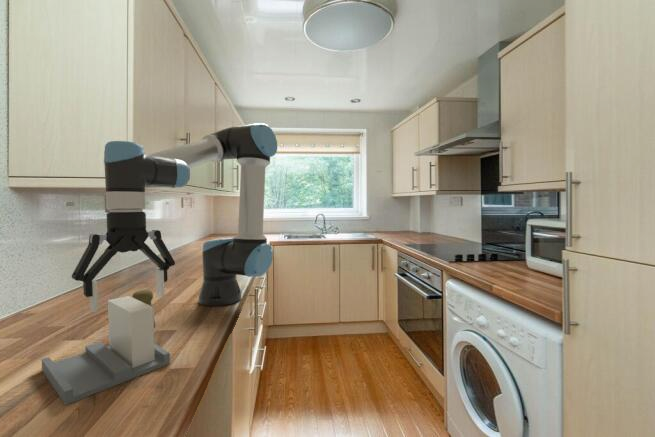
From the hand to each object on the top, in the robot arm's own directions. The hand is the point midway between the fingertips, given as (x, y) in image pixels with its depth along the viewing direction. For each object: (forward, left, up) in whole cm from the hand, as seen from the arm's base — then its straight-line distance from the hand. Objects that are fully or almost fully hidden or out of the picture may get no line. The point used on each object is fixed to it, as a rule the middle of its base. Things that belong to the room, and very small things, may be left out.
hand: (129, 302), depth 72 cm
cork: (-9, -17, -13) cm, 23 cm away
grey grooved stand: (+5, 0, -13) cm, 14 cm away
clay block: (0, 0, -12) cm, 12 cm away
